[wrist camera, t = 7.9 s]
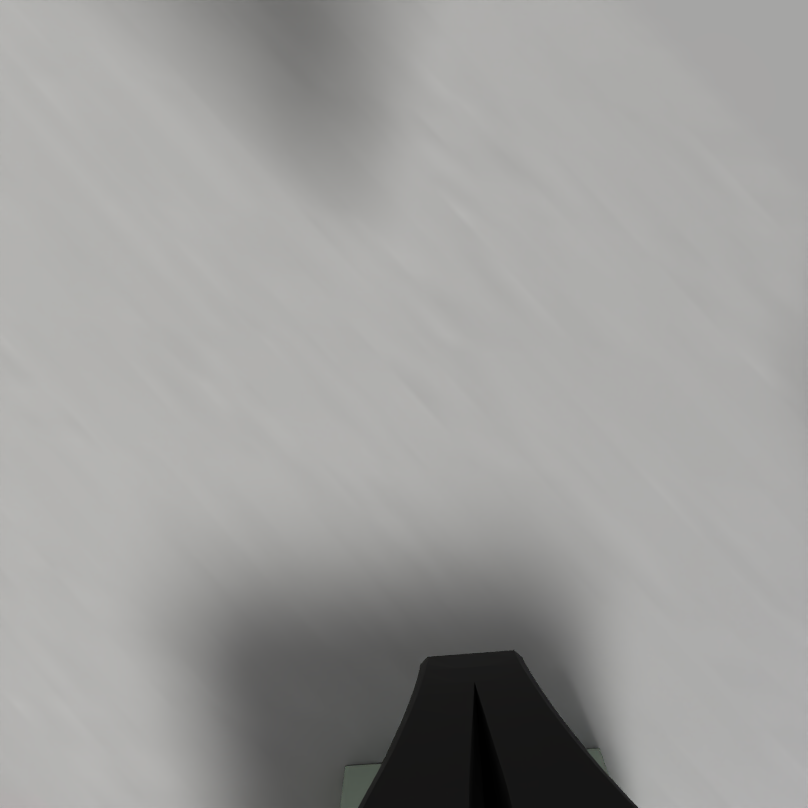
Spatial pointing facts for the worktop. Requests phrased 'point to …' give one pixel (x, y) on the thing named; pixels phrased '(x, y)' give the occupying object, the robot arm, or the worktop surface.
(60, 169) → the worktop surface
